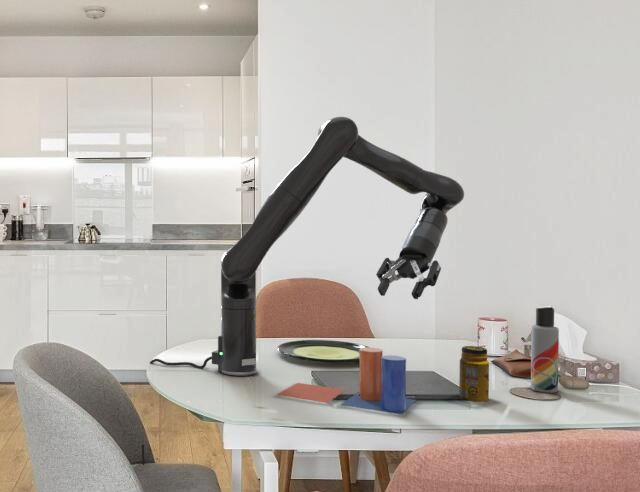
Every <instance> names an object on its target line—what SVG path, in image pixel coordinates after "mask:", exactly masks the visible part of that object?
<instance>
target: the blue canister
mask: <svg viewBox="0 0 640 492" xmlns="http://www.w3.org/2000/svg"><path fill="white" fill-rule="evenodd" d="M406 399H407V358H406V357H405V356H401V355H392V354H390V355H389V354H387V355H383V356H382V357H381V408H382V409H383V410H385V411H389V412H404V411H405V410H406ZM406 411H407V410H406ZM406 411H405V412H406ZM389 412H388V413H389ZM405 412H404V413H405Z"/></svg>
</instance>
